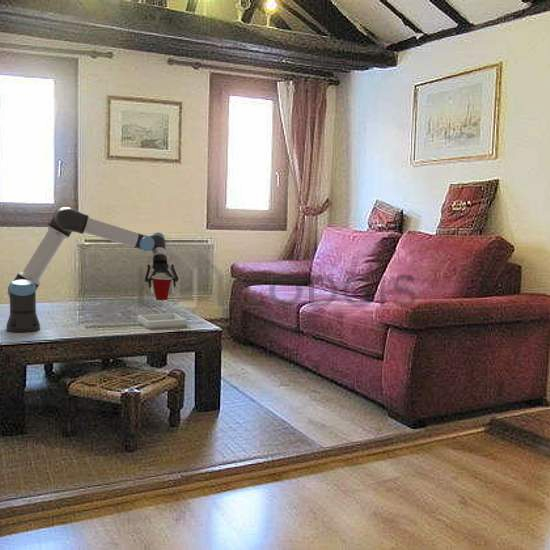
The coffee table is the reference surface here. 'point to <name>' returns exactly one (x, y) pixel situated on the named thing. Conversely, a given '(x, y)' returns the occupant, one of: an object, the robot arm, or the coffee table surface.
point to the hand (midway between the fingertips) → (162, 291)
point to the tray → (162, 321)
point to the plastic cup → (161, 286)
